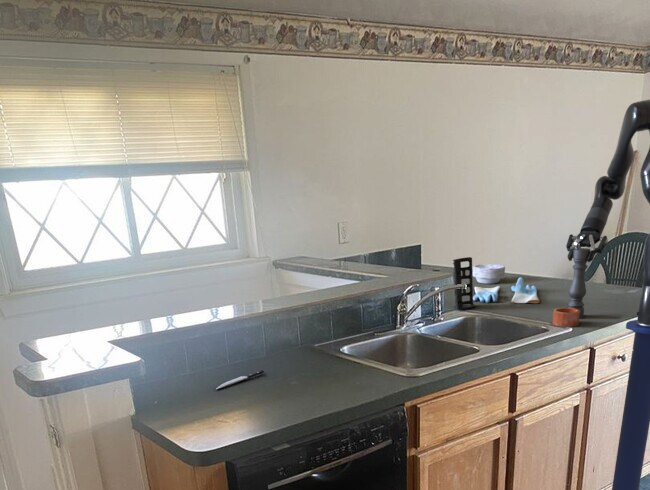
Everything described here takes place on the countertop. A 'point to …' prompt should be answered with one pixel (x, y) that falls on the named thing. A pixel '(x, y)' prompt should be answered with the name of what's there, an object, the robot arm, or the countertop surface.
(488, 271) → the paper bowls
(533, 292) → the rubber gloves
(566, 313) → the holder cup
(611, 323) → the countertop surface
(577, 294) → the candle holder
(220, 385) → the chef's knife
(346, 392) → the countertop surface
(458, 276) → the holder
